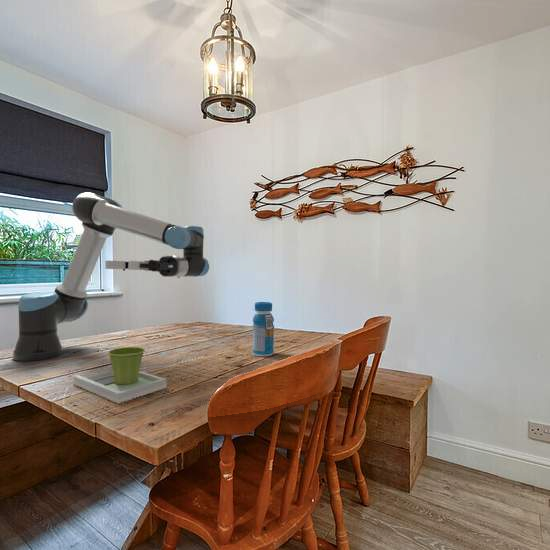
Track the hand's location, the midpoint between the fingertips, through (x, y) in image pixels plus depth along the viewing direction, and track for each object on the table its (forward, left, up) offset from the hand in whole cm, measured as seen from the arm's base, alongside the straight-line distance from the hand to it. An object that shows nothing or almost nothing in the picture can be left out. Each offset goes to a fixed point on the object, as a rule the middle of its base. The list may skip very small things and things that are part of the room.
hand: (117, 265), depth 108 cm
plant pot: (+13, +11, -33) cm, 37 cm away
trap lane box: (+13, +9, -34) cm, 37 cm away
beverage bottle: (-29, +43, -34) cm, 62 cm away
